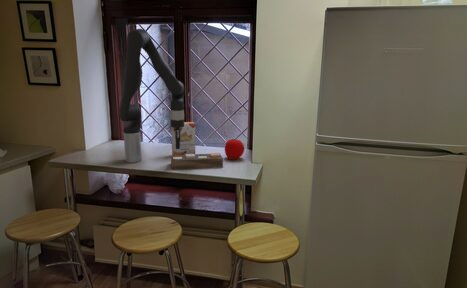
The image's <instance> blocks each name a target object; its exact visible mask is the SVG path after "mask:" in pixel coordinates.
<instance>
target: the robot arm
mask: <svg viewBox="0 0 467 288" xmlns="http://www.w3.org/2000/svg"><path fill="white" fill-rule="evenodd" d="M126 36H127V37H126V59H125V69H124V77H123V87H122V93H121V99H120V105H119V110H118V115H119V119H120V120H121V121H122V122H130V123H129V124H127V125H125V126H124V127H123V130H122V131H123V132H122V133H123V141H124V142H123V143H124V159H125V160H124V161H125V163H131V164H132V163H133V164H134V163H140V162H141V161H142V160H143V159H142V143H141V126H142V124H141V122H142V121H141V119H142V118H141V117H142V115H141V113H142V112H141V108H140V106H139V105H138V104H136V103H134V104H133V103H132V104H131V101H132V99H133V98H134V96H135V94H136V93H137V92H138V90H139V89H140V87H141V86H142V83H143V80H142V79H143V69H142V65H141V52H142V50H143V51H144V52H145V53H146V54H147V56H148V57H149V60H150V62H151V65H152V67H153V69H154V71H155V72H156V74H157V75H158V76H159V78H160V79H161V80H162V81H163V83H164V85H165V87H166V88H167V90H168V91H169V92H170V93H171V100H170V114H169V116H170V117H169V118H170V119H169V120H170V125H169V126H170V127H171V128H172V127H173V128H175V130H174V138H175V142H176V149H180V139H181V130H180V127H181V128H182V127H184V122H185V109H184V106H185V105H184V99H185V97H184V96H185V85H184V82H182V81H180V80H178V79H177V78H176V76H175V73H174V72H173V70H172V68H170V66H169V65H168V64H167V62H166V61H165V60H164V58H163V57H162V55H161V53H160V52H159V50H158V48H157V47H156V45H155V43H154V42H153V38H151V36H150V35H149V33H148V31H147V30H145V29H142V28H136V29H132V30H129V32H128V33H127V35H126Z"/></svg>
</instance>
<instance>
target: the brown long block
mask: <svg viewBox="0 0 467 288" xmlns="http://www.w3.org/2000/svg"><path fill="white" fill-rule="evenodd" d="M218 153H219V152H218ZM219 155H220V157H213V158H211V157H210V153H200V154H199V153H197V154H196V153H195V158H187V159H186V155H172V154H171V155H170V169H171V170H183V169H184V170H185V169H187V168H188V169H189V170H190V169H206V168H207V169H208V168H224V164H223V163H224V158H223V156H222V155H221V153H219ZM198 156H207V158H198ZM173 157H182V159H173Z"/></svg>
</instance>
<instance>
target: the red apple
mask: <svg viewBox="0 0 467 288" xmlns="http://www.w3.org/2000/svg"><path fill="white" fill-rule="evenodd" d="M244 152H245V145H244V143H243V141H242V140H240V139H236V138H230V139H228V140H227V141H226V142H225V144H224V153H225V156H226V157H227V158H228V159H229V160H238V159H240V158H242V156H243V154H244Z"/></svg>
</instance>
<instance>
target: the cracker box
mask: <svg viewBox="0 0 467 288" xmlns="http://www.w3.org/2000/svg"><path fill="white" fill-rule="evenodd" d="M174 130H175V128H173V127H171V155H186V154H196V123H195V122H194V121H184V127H182V128H181V127H180V130H181V139H180V149H176V142H175V138H174Z"/></svg>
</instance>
